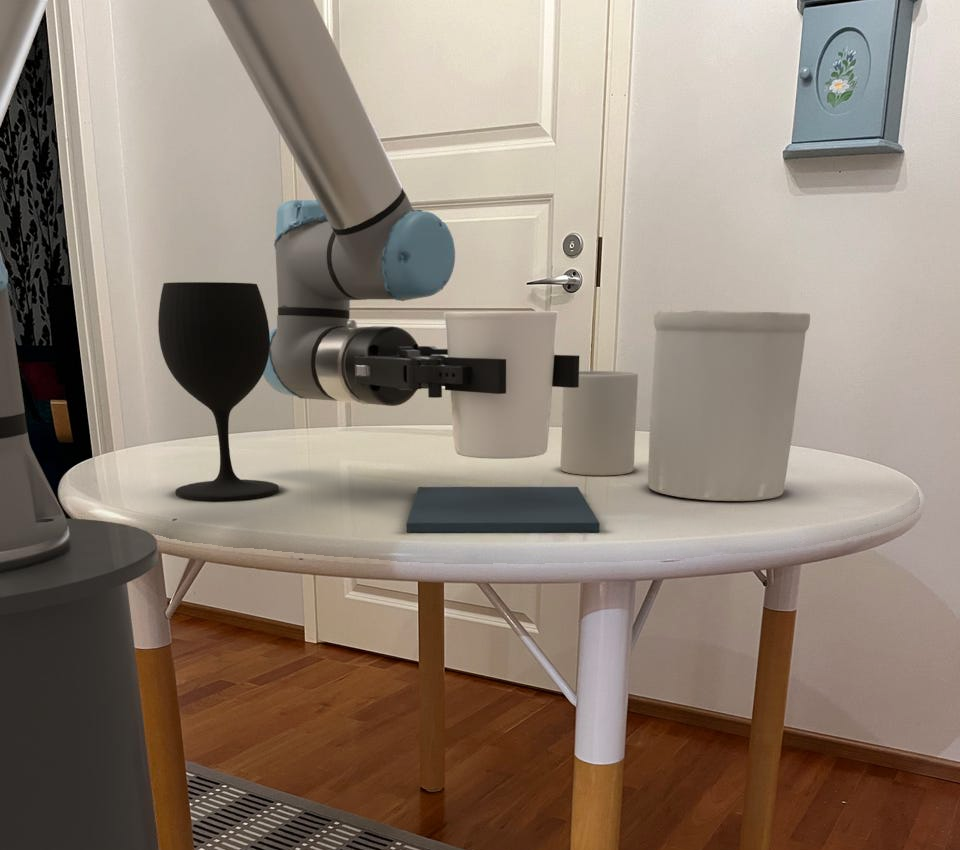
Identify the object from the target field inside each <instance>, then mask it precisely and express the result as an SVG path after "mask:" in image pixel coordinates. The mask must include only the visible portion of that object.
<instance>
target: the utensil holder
mask: <svg viewBox="0 0 960 850" xmlns="http://www.w3.org/2000/svg"><path fill="white" fill-rule="evenodd" d="M653 315H654V316H653V326H654V329H655V341H654V353H653V368H652V386H651V403H650V415H649V416H650V417H649V418H650V419H649V432H648V433H649V438H648V469H647V472H648V473H647V486H648V488H649V489H650V490H652V491H654V492H655V493H659V494H662V495H666V496H670V497H678V498H684V499H692V500H702V501H703V500H704V501H716V502H718V501H720V502H721V501H722V502H748V501H762V500H770V499H775V498H779V497H780V496H782V495H783V493H784V491H785V486H786V485H785V484H786V480H787V472H788V464H789V459H790V451H791V445H792V439H793V432H794V424H795V414H796V407H797V401H798V394H799V393H798V392H799V385H800V378H801V371H802V366H803V365H802V364H803V357H804V350H805V349H804V348H805V340H806V333H807V331H808V330H809V327H810V326H811V325H810V323H811V314H810V313H807V312H791V311H790V312H789V311H756V310H755V311H753V310H751V311H750V310H748V311H747V310H655V311H654V313H653Z"/></svg>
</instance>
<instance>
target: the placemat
mask: <svg viewBox="0 0 960 850" xmlns="http://www.w3.org/2000/svg"><path fill="white" fill-rule="evenodd" d="M411 505H412V506H411V509H410V511H409V515H408V517H407V520H406V523H405V524H406V526H405V527H406V533H599V532H600V522H599V520H598V518H597V516H596V515H595V513H594V512H593V510H592V508H591V507H590V505H589V503H588V502H587V500H586V498H585V497H584V495H583V493H582V492H581V490H580V488H579V487H578V486H418V488H417V491H416V494H415V497H414V500H413V503H412V504H411Z"/></svg>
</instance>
